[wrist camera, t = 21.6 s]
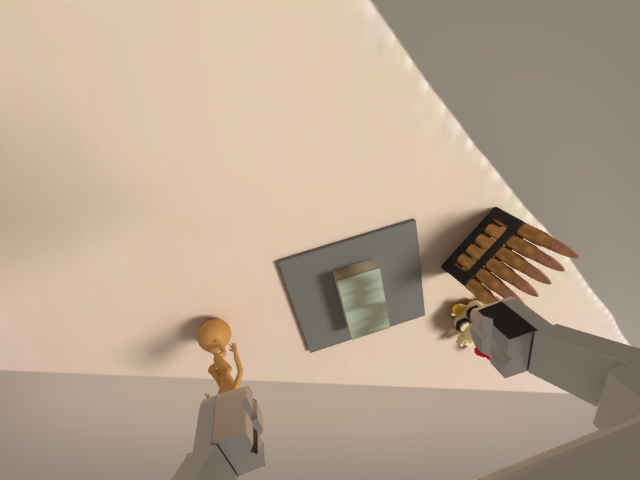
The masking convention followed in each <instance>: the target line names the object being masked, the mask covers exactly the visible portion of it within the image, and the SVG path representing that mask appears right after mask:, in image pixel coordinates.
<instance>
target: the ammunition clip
mask: <svg viewBox="0 0 640 480" xmlns="http://www.w3.org/2000/svg"><path fill="white" fill-rule="evenodd" d="M501 227H503V228H505V229H506V230H505V229H503V228H501ZM514 234H515V235H514ZM490 237H492V238H493V239H492V238H490ZM523 238H524V239H526V240H528V241H530V242H532V243H534V244H536V245H538V246H542V247H545V248H547V249H549V250H552V251H554V252H556V253H558V254H561V255H564V256H567V257H571V258H578V257H579V256H578V254H577V253H576V252H575V251H574V250H572V249H571V248H570V247H568V246H567V245H565V244H563V243H562V242H560V241H558V240H556V239H554V238H553V237H551V236H550V235H549V234H547V233H545V232H543V231H541V230H539V229H537V228H535V227H533V226H531V225H529V224H527V223H525V222H523V221H522V220H520V219H518V218H516V217H514V216H512V215H510V214H509V213H507V212H505V211H503V210H501V209H499V208H497V207H494V209H493V210H492V211H491V212H490V213H489V214H488V215H487V216H486V217H485V219H484V220H483V221H482V222H481V223H480V224H479V225H478V226H477V227H476V228H475V230H474V231H473V232H472V233H471V234H470V235H469V236H468V237H467V238H466V239H465V241H464V242H463V243H462V244H461V245H460V246H459V247H458V248H457V249H456V250H455V252H454V253H453V254H452V255H451V256H450V257H449V258H448V259H447V260H446V261H445V263H444V264H443V265H442V268H443V269H444V270H445V271H447V272H448V273H449V274H450V275H452V276H453V277H454V278H455V279H457V280H458V281H459V282H460V283H461V284H462V285H464V286H465V287H466V288H467V289H468V290H469V291H470V292H471V293H472V294H474V295H475V296H476V297H477V298H478V299H479V300H480V301H482V302H484V303H485V304H489V303H492V302H495V301H498V299H497V298H496V297H495V296H494V295H493V294H492V292H491V291H490V290H492V291H494V292H496V293H497V294H499V295H500V296H502V297H503V298H507V297H510V296H512V297H515V298H517V299H518V300H519V301H521V302H522V303H523V301H522V300H521V299H520V298H519V297H518V296H517V295H516V294H515V293H514V292H513V291H512V290H510V289H509V288H508V287H507V286H506V285H505V284H504V283H503V282H502V281H501V280H500V279H499V278H501V279H502V280H504V281H507V282H508V283H510V284H511V285H513V286H515V287H516V288H518V289H519V290H521V291H523V292H525V293H527V294H529V295H532V296H536V297H538V293H537V292H536V290H535V289H534V288H533V287H532V286H531V285H530V284H529V283H528V282H527V281H525V280H524V279H523V278H521V277H520V276H519V275H518V274H516V273H515V272H514V271H513V270H512V269H511V268H510V267H512V268H514V269H516V270H518V271H520V272H522V273H524V274H526V275H527V276H529V277H531V278H533V279H535V280H537V281H539V282H542V283H545V284H551V281H550V280H549V278H548V277H547V276H546V275H545V274H544V273H543V272H541V271H540V270H539V269H537V268H536V267H534V266H533V265H532V264H530V263H529V262H527V261H526V260H525V259H524V258H523V257H521V256H520V255H518V254H517V253H519V254H521V255H523V256H524V257H527V258H530V259H532V260H534V261H536V262H538V263H540V264H542V265H544V266H546V267H548V268H551V269H554V270H557V271H565V269H564V267H563V266H562V265H561V264H560V263H559V262H558V261H557V260H555V259H554V258H552V257H551V256H549V255H547V254H545V253H544V252H543V251H541V250H539V249H538V248H537V247H536V246H535V245H533V244H531V243H529V242H527V241H526V240H524V239H523ZM494 239H495V240H496V241H495V240H494ZM503 245H505V246H503ZM482 248H483V249H484V250H483V249H482ZM485 250H486V251H485ZM512 250H514V251H516V252H517V253H515V252H513V251H512ZM494 256H495V257H494ZM474 259H475V260H476V261H475V260H474ZM501 261H503V262H504V263H506V264H507V265H509V266H510V267H508V266H507V265H505V264H504V263H503V262H501ZM483 266H484V267H485V268H484V267H483ZM465 269H466V270H467V271H466V270H465ZM491 272H492V273H494V274H495V275H497V276H498V277H499V278H498V277H496V276H495V275H494V274H492V273H491ZM473 276H474V277H473ZM481 282H482V283H483V284H484V285H485V286H487V287H488V288H489V289H490V290H489V289H487V288H486V287H485V286H484V285H483V284H482V283H481ZM523 304H524V303H523Z"/></svg>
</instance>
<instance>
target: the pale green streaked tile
mask: <svg viewBox="0 0 640 480" xmlns="http://www.w3.org/2000/svg"><path fill="white" fill-rule="evenodd" d="M333 275H334V278H335V282H336V286H337V290H338V294H339V298H340V301H341V305H342V309H343V313H344V317H345V321H346V325H347V328H348V331H349V333H350V336H351V338H352V340H353V339H356V338H359V337H362V336H366V335H369V334H372V333H375V332H378V331H381V330H384V329H387V328H390V324H389V318H388V313H387V307H386V301H385V295H384V289H383V283H382V278H381V272H380V267H379V266H378V265H377V263H376V262H375V261H374V259H373V258H372V259H369V260H366V261H363V262H360V263H356V264H353V265H350V266H347V267H343V268H340V269H337V270H334V271H333Z"/></svg>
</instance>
